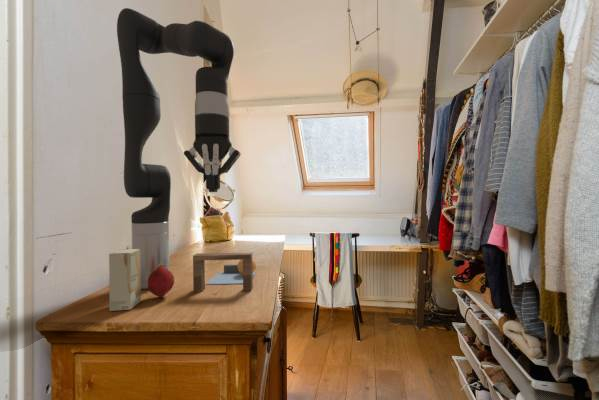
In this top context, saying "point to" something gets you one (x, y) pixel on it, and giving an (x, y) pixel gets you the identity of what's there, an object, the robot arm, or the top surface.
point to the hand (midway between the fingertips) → (213, 191)
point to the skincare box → (124, 279)
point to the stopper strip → (231, 269)
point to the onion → (160, 281)
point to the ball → (240, 266)
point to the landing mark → (227, 278)
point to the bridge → (201, 257)
